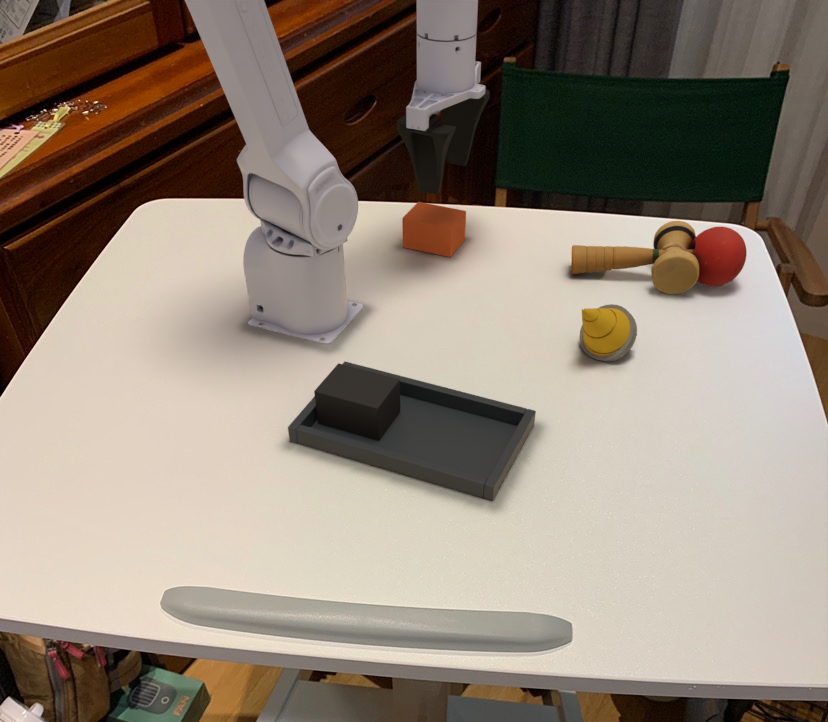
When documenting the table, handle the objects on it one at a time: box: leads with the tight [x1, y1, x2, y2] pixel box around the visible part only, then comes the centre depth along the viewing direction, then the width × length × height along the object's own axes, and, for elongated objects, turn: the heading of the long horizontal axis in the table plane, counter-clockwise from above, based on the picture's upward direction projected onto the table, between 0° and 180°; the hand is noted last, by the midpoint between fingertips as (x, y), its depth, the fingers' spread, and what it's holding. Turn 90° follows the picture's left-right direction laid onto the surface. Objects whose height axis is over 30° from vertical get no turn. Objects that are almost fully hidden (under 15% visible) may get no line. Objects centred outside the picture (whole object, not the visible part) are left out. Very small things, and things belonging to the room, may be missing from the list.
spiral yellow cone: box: [579, 303, 638, 363], centre depth 77 cm, size 5×5×10 cm
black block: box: [313, 362, 400, 441], centre depth 72 cm, size 6×4×4 cm
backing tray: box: [287, 360, 537, 502], centre depth 71 cm, size 19×11×2 cm, turn 66°
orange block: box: [401, 201, 467, 258], centre depth 94 cm, size 6×4×4 cm
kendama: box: [570, 220, 747, 295], centre depth 88 cm, size 8×6×18 cm
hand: (443, 177), depth 88 cm, fingers open, 7 cm apart
